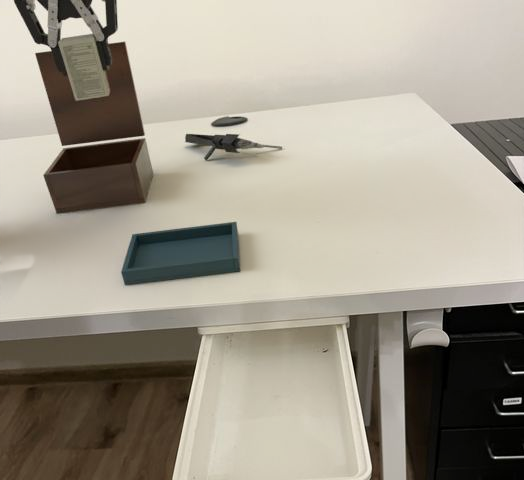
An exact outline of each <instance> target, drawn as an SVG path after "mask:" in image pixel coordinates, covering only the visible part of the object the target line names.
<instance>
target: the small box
mask: <svg viewBox="0 0 524 480" xmlns="http://www.w3.org/2000/svg"><path fill="white" fill-rule="evenodd" d="M96 42H97V39H96V38H95V36H94V34H93V33H88V34H80V35H75V36H68V37H61V39H60V41H59V42H58V44H59V47H60V51H61V54H62V57H63V60H64V64H65V67H66V70H67V74H68V77H69V81H70V84H71V87H72V90H73V94H74V97H75V100H76V101H77V100H85V99H90V98H98V97H103V96H108V95H109V93H110V87H109V83H108V80H107V76H106V72H105V71H103V69H102V65H101V61H100V57H99V53H98V49H97V45H96Z"/></svg>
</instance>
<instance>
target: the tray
mask: <svg viewBox="0 0 524 480" xmlns="http://www.w3.org/2000/svg"><path fill="white" fill-rule="evenodd" d="M239 272H241V259H240V242H239V231H238V222H237V221H230V222H220V223H215V224H205V225H197V226H189V227H183V228H182V227H180V228H173V229H172V228H171V229H164V230H163V229H162V230H156V231H148V232H140V233H133V234H132V235H131V238H130V242H129V244H128V248H127V252H126V254H125V258H124V261H123V265H122V268H121V271H120V273H121V277H122V280H123V283H124V285H125V286H128V285H129V286H131V285H136V284H137V285H138V284H145V283H146V284H147V283H153V282H154V283H155V282H162V281H171V280H179V279H186V278H187V279H188V278H194V277H196V278H197V277H203V276H212V275H220V274H229V273H239Z"/></svg>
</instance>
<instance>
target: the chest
mask: <svg viewBox="0 0 524 480" xmlns="http://www.w3.org/2000/svg"><path fill="white" fill-rule="evenodd" d="M153 176H154V170H153V165H152V161H151V157H150V152H149V148H148V144H147V139H146V138H145V137H141V138H134V139H126V140H118V141H117V140H116V141H109V142H103V143H102V142H101V143H94V144H85V145H78V146H71V147H69V146H68V147H64V148H62V149H61V151H60V152H59V153H58V155H57V156H56V157H55V158H54V160H53V161H52V162H51V164H50V165H49V167H48V168H47V169H46V171H44V173H43V179H44V181H45V184H46V187H47V190H48V193H49V195H50V198H51V201H52V205H53V208H54V209H55V213H56V214H61V213H71V211H72V212H78V211H79V212H80V211H87V210H96V209H104V208H105V209H106V208H112V207H120V206H128V205H136V204H137V205H138V204H144V203H146V200H147V197H148V193H149V190H150V188H151V187H150V186H151V184H152V180H153V178H154V177H153Z"/></svg>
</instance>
